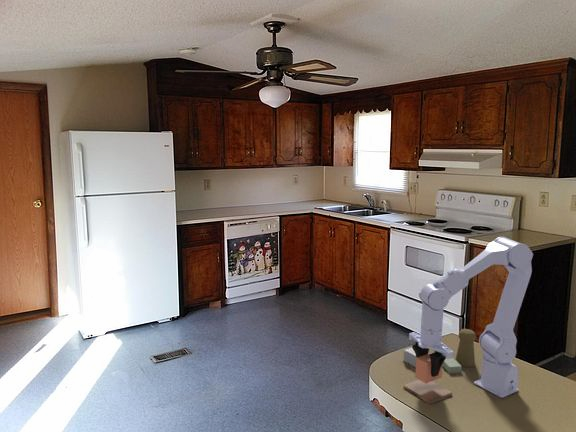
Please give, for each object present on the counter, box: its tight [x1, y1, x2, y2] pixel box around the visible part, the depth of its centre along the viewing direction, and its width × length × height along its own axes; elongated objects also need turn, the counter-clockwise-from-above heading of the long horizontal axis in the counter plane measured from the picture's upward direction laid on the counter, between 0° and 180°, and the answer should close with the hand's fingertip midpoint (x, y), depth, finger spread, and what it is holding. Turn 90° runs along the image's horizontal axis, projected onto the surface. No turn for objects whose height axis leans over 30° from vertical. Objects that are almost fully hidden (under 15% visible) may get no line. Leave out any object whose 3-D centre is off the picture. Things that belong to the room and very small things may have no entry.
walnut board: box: [403, 379, 453, 405], centre depth 136 cm, size 10×9×1 cm
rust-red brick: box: [414, 352, 443, 383], centre depth 135 cm, size 4×6×6 cm, turn 122°
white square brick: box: [403, 346, 417, 368], centre depth 153 cm, size 5×5×4 cm
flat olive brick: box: [442, 357, 463, 374], centre depth 150 cm, size 6×4×2 cm, turn 8°
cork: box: [455, 328, 477, 368], centre depth 153 cm, size 6×6×11 cm
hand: (428, 372), depth 135 cm, fingers closed on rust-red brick, 4 cm apart
